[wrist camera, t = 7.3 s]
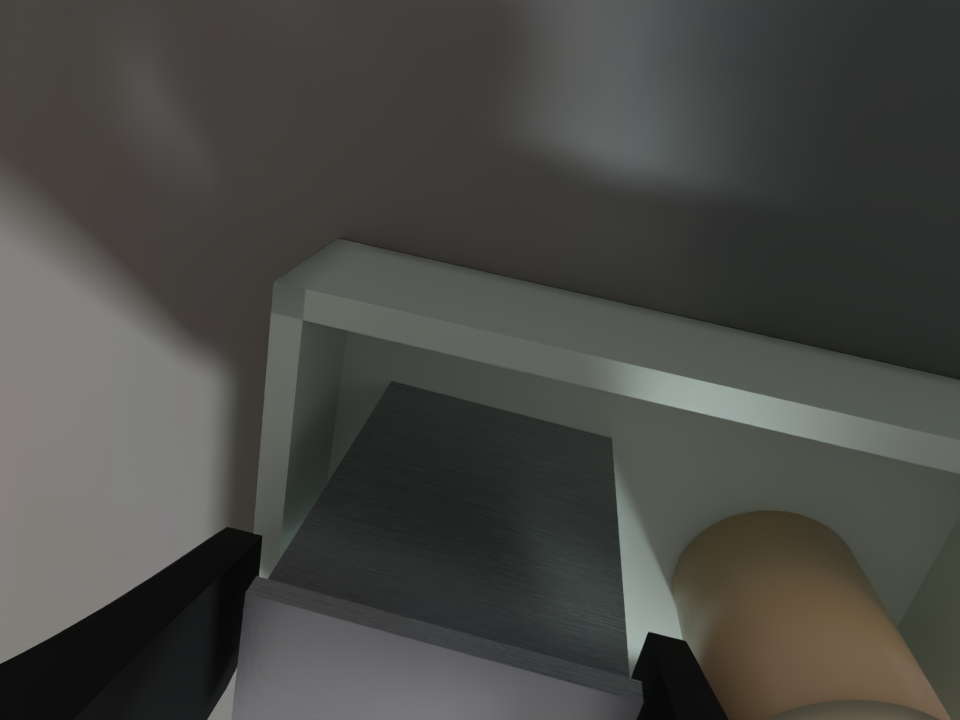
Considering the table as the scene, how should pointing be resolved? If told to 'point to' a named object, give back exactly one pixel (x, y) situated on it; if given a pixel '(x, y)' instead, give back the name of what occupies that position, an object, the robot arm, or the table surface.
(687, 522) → the crate
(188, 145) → the table surface
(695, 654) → the jar
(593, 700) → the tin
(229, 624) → the robot arm
